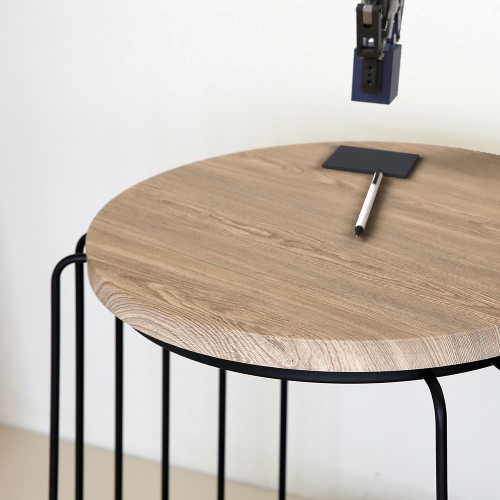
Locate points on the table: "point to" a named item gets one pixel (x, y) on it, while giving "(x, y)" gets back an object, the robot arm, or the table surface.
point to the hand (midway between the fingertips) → (375, 86)
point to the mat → (371, 161)
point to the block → (388, 77)
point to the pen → (368, 203)
